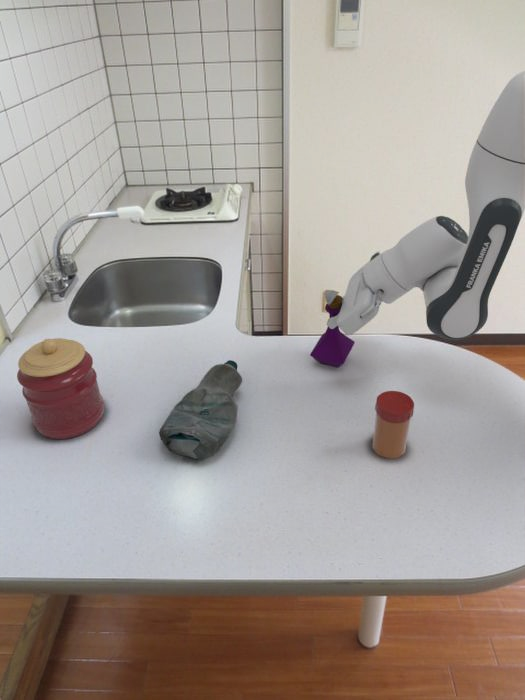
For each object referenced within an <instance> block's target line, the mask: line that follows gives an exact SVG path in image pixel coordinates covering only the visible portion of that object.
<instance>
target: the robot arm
mask: <svg viewBox="0 0 525 700" xmlns="http://www.w3.org/2000/svg"><path fill="white" fill-rule="evenodd" d="M464 187H465V193H466V199H467V206H468V217H469V219H468V220H469V229H468V233H467V232H466V231H465V230H464V228H463V227H462V226H461V225H460V224H459V223H458V222H457V221H455V220H454V219H452V218H451V217H448V216H445V215H437V216H434V217H432V218H430V219H428V220H426V221H424V222H422V223H420V224H419V225H418V226H416V227H414V228H413V229H412V230H410V231H409V232H408V233H406V234H405V235H404V236H402V237H401V238H400V239H399V240H398V242H396V244H395V245H393V247H391V248H389V249H387V250H384V251H382V252H381V251H376V252H375V253H374V254H373V255H371V257H370V259H369V261H367V262H366V263H365V264H363V266H362V267H360V268H359V269H358V270H357V271H356V272H354V274H353V275H352V276H351V277H350V279H349V280H348V282H347V283H348V284H347V287H346V290H345V293H344V295H343V296H342V298H343V300H342V306H341V310H340V312H339V313H338V315H336V316H335V317H334V316H332V317H331V318H330V319H329V318H328V319H327V321H326V326H327V327H329V328H330V329H334V328H335V327H336V326H338V327H339V330H340V331H341V332H342V333H343V334H344V335H345V336H352V335H354V334H355V333H357V332H358V331H359V330H360V329H362V328H363V327H364V326H366V325H367V324H368V323H370V322H371V321H372V320H374V319H375V317H376V316H377V315H378V313H379V311H380V307H381V305H382V303H385V304H387V305H391V304H393V303H394V302H396V301H397V300H398V299H400V298H401V297H402V296H405V294H407V293H409V292H410V291H412V290H413V289H414V288H419V289H420V290H421V291H422V295H423V301H424V305H425V313H426V314H425V317H426V320H425V321H426V326H427V328H428V330H429V331H430V332H432V333H433V334H434V335H435V336H437V337H440V338H442V339H445V340H449V341H460V340H464V339H467V338H470V337H473V335H475V334H476V333H478V332H479V331H480V330H481V329H482V328H483V327H484V326H485V324H486V323H487V321H488V316H489V298H490V294H491V293H492V289H493V288H494V285H495V282H496V280H497V278H498V276H499V274H500V271H501V269H502V268H503V264H504V262H505V260H506V257H507V255H508V253H509V251H510V248H511V246H512V244H513V241H514V239H515V236H516V233H517V230H518V227H519V225H520V223H521V220H522V217H523V214H524V213H525V70H524V71H521V72H519V73H517V74H515V75H514V76H513V77H512V78H511V79H510V80H509V81H508V82H507V83H506V85H505V86H504V88H503V90H502V91H501V93H500V94H499V96H498V98H497V99H496V101H495V102H494V104H493V106H492V108H491V109H490V111H489V114H488V115H487V117H486V118H485V121H484V123H483V125H482V126H481V129H480V132H479V134H478V136H477V139H476V140H475V142H474V145H473V147H472V150H471V153H470V157H469V160H468V164H467V168H466V173H465V177H464Z"/></svg>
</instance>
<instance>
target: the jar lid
mask: <svg viewBox="0 0 525 700" xmlns="http://www.w3.org/2000/svg"><path fill="white" fill-rule="evenodd" d="M374 407H375V408H374V410H375V414H376V413H377V415H378V416H379V417H380V418H381V419H383V420H385V421H388V422H391V423H402V422H406V421H408V420H409V419H410V418H412V417H413V414H414V410H415V402H414V400H413V398H412V397H411V396H409V395H408V394H406V393H404V392H402V391H398V390H387V391H383V392H381V393H379V395H377V397H376V400H375V404H374ZM410 420H411V419H410Z"/></svg>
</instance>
